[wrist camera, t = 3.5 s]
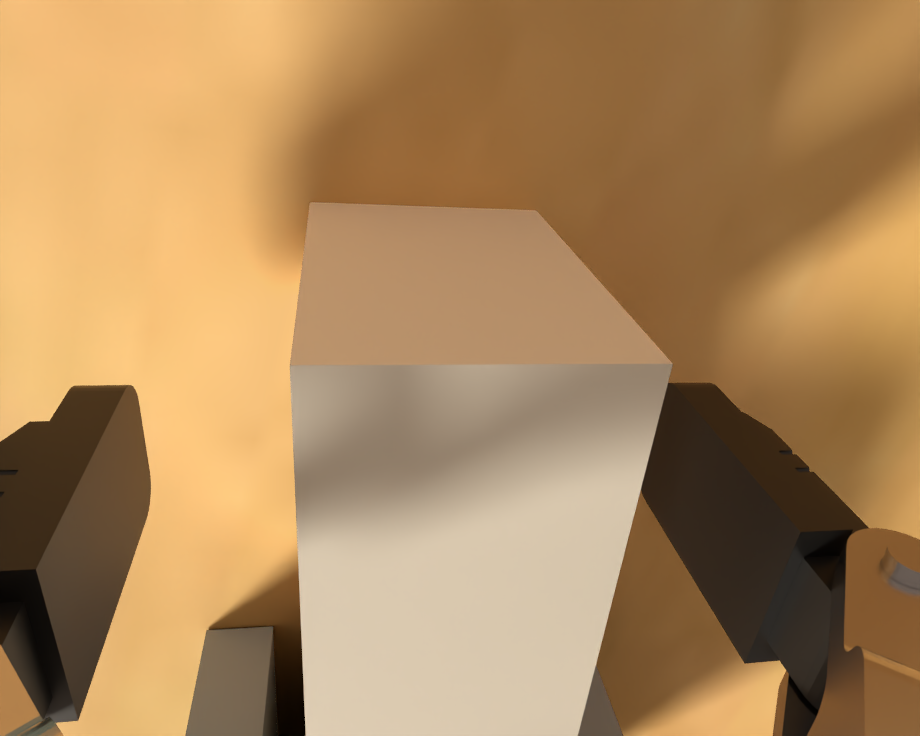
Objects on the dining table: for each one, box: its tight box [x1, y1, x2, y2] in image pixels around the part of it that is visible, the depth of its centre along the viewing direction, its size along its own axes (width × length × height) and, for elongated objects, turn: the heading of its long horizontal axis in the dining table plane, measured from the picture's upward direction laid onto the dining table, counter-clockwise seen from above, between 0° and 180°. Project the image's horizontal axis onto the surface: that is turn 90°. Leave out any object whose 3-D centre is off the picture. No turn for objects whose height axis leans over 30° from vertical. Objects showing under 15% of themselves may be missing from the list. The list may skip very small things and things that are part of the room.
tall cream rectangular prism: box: [290, 202, 673, 736], centre depth 12 cm, size 4×12×6 cm, turn 175°
